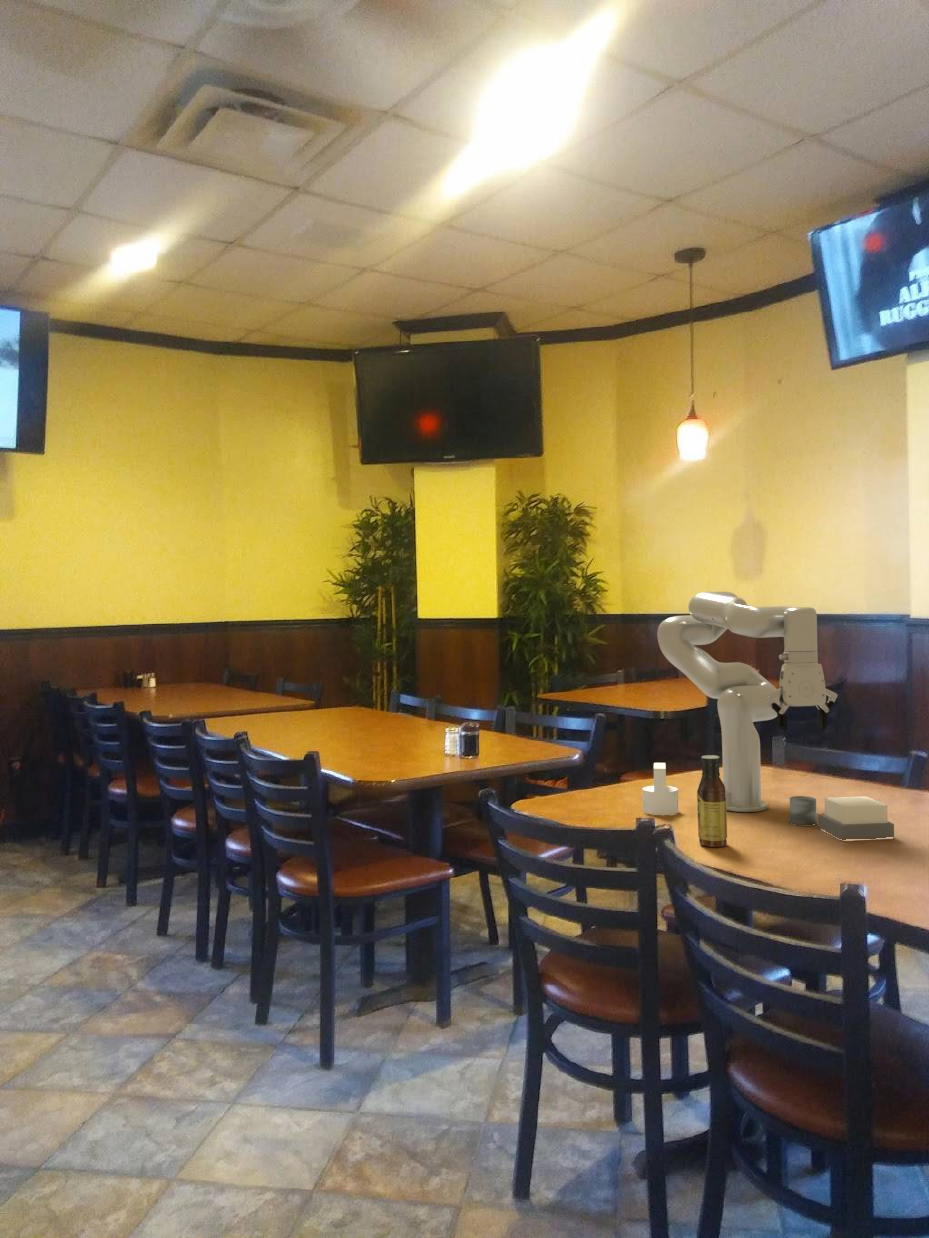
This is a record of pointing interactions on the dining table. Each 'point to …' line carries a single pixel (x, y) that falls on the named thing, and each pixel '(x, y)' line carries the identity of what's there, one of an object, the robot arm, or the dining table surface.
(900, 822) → the dining table surface
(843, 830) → the tower bottom
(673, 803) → the cylinder with rectangular tab
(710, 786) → the sauce bottle
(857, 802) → the tower top
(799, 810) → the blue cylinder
